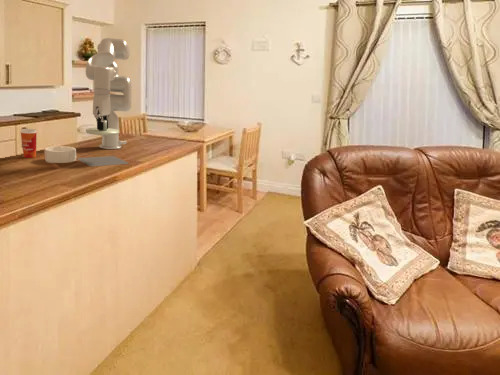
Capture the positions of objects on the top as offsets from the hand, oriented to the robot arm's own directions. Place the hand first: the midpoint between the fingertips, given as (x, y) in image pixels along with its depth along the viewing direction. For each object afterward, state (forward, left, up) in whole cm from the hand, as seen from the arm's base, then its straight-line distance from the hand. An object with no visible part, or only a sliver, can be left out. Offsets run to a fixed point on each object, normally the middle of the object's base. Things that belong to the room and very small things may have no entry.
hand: (102, 128), depth 217 cm
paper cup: (+29, -22, -17) cm, 40 cm away
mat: (0, 0, -17) cm, 17 cm away
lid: (0, 0, -2) cm, 2 cm away
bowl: (+18, -9, -17) cm, 26 cm away
